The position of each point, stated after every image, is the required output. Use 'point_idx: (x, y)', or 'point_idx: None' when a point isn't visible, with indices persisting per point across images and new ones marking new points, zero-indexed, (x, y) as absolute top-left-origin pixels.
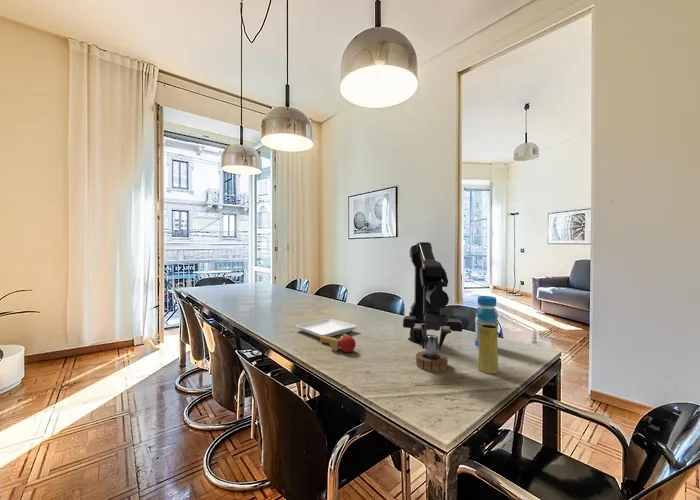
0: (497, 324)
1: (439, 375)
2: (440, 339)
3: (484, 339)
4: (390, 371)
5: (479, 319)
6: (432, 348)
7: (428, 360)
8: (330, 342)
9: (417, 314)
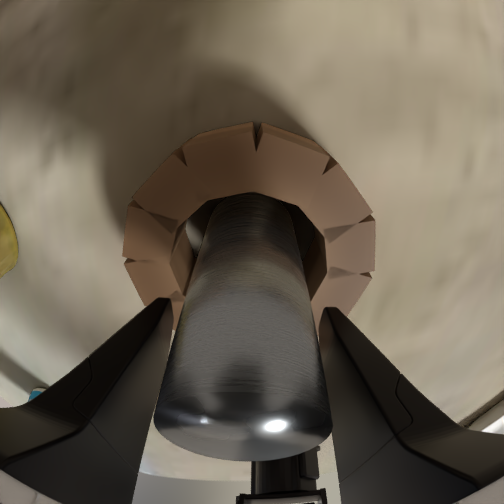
0: None
1: (203, 64)
2: (115, 379)
3: None
4: (499, 110)
5: None
6: (239, 275)
7: (286, 166)
8: None
9: None
